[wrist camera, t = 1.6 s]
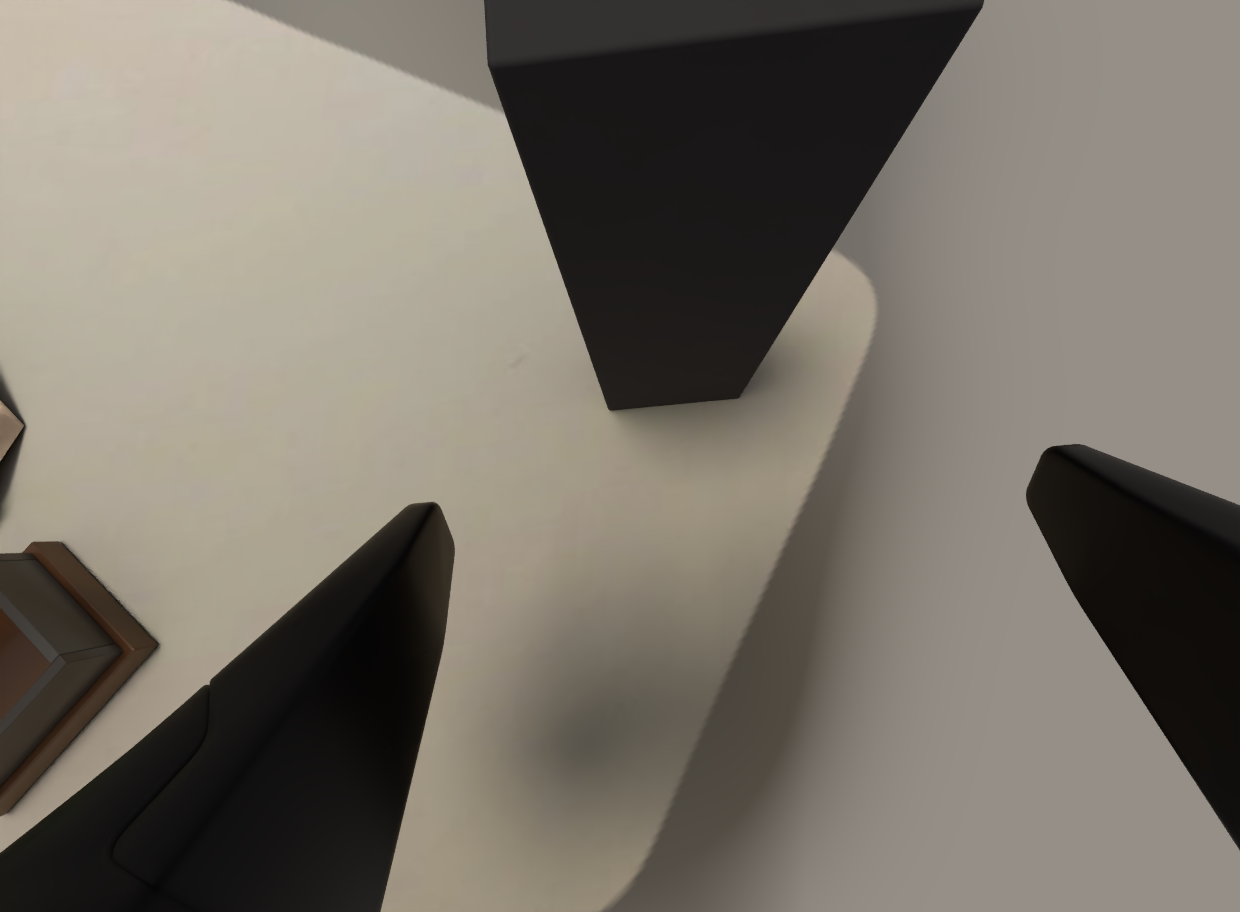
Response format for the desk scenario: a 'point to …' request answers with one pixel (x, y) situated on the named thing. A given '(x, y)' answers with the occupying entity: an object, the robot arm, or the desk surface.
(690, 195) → the back pad
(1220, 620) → the robot arm
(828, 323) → the desk surface
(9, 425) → the bear figurine
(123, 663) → the seat base
